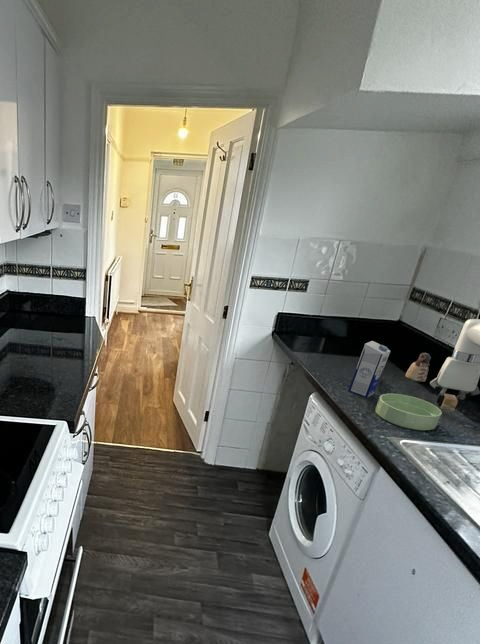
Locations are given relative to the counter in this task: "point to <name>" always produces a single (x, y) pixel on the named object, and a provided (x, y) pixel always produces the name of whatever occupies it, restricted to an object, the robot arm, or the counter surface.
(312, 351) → the counter surface
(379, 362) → the milk carton
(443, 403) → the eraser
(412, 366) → the figurine
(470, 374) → the robot arm
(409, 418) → the bowl
